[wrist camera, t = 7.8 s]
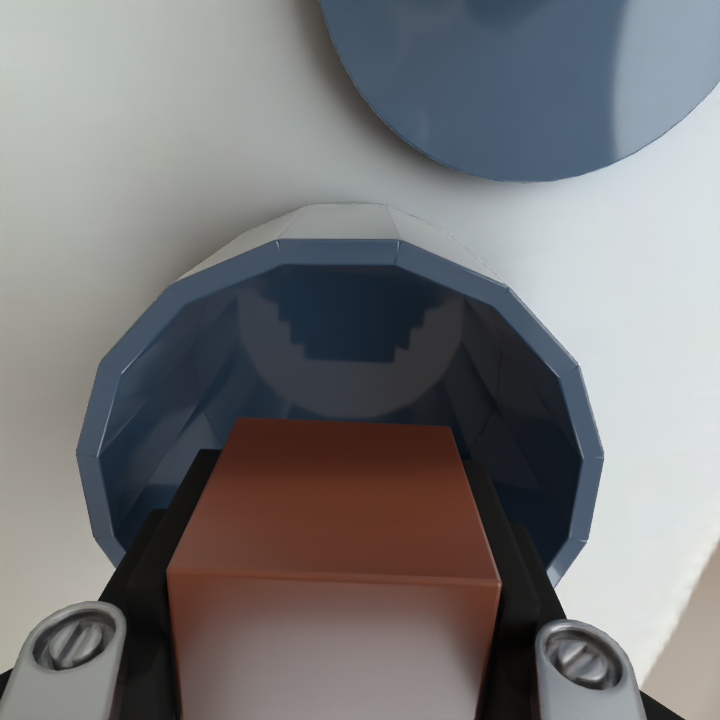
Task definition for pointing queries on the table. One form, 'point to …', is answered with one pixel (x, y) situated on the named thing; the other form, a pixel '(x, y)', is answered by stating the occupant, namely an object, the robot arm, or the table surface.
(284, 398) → the bowl
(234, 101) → the table surface
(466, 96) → the lid
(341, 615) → the block
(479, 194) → the table surface
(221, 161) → the table surface
